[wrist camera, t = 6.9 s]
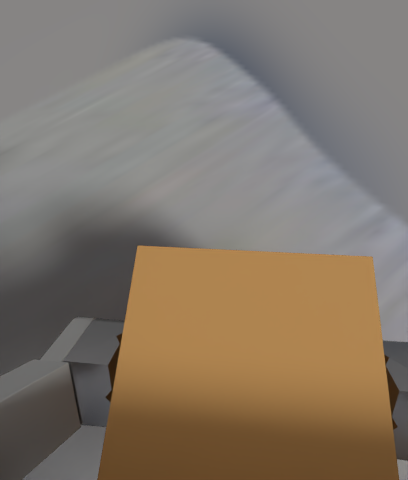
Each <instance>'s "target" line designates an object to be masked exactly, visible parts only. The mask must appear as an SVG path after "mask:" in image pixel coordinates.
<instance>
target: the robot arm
mask: <svg viewBox="0 0 408 480" xmlns="http://www.w3.org/2000/svg"><path fill="white" fill-rule="evenodd" d="M124 322H125V321H120V320H110V319H99V318H96V319H95V318H86V317H77V318H74V319H73V320H72V321H71V322H70V323H69V325H68V326H67V327H66V328H65V329H64V331H63V332H62V333H61V334H60V336H59V337H58V338H57V339H56V340H55V342H54V343H53V344H52V345H51V346H50V348H49V349H48V350H47V351H46V353H45V354H44V355H43V356H42V357H41V359H40V360H35V359H33V360H31V361H29V362H27V363H25V364H23V365H21V366H19V367H18V368H16V369H14V370H12V371H10V372H8V373H6V374H4V375H2V376H0V480H22V479H23V478H24V477H25V476H26V475H28V474H29V473H30V472H31V471H32V470H33V469H34V468H35V467H37V466H38V465H39V464H40V463H41V462H42V461H43V460H44V459H45V458H47V457H48V456H49V455H50V454H51V453H52V452H53V451H54V450H56V449H57V448H58V447H59V446H60V445H61V444H62V443H63V442H65V441H66V440H67V439H68V438H69V437H70V436H71V435H72V434H74V433H75V432H76V431H77V430H78V429H79V428H80V427H81V425H89V426H102V427H107V421H108V415H109V409H110V404H111V398H112V392H113V386H114V380H115V375H116V369H117V363H118V357H119V351H120V346H121V340H122V334H123V328H124ZM383 349H384V357H385V366H386V374H387V382H388V391H389V399H390V407H391V416H392V424H393V433H394V441H395V449H396V458H397V459H400V460H407V461H408V342H397V341H383Z"/></svg>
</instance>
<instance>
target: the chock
mask: <svg viewBox="0 0 408 480" xmlns="http://www.w3.org/2000/svg"><path fill="white" fill-rule="evenodd" d="M97 480H399V475H398V466H397V458H396V449H395V441H394V433H393V424H392V416H391V407H390V399H389V391H388V382H387V374H386V366H385V357H384V349H383V340H382V332H381V324H380V315H379V307H378V298H377V290H376V282H375V273H374V265H373V257H367V256H346V255H325V254H304V253H283V252H262V251H241V250H220V249H199V248H178V247H157V246H138V247H137V253H136V258H135V264H134V270H133V276H132V282H131V287H130V293H129V299H128V305H127V311H126V316H125V322H124V328H123V334H122V340H121V346H120V351H119V357H118V363H117V369H116V375H115V380H114V386H113V392H112V398H111V404H110V409H109V415H108V421H107V427H106V433H105V439H104V444H103V450H102V456H101V462H100V468H99V473H98V479H97Z"/></svg>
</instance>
